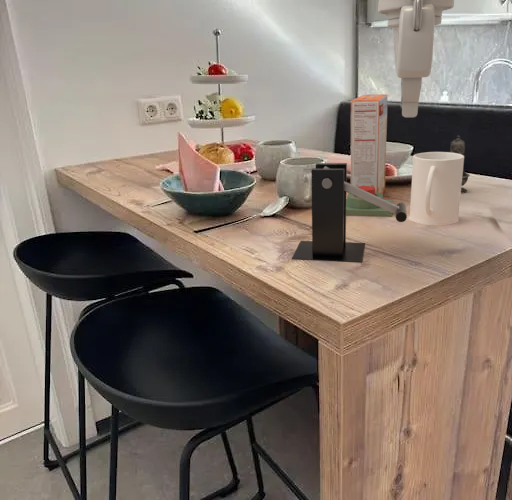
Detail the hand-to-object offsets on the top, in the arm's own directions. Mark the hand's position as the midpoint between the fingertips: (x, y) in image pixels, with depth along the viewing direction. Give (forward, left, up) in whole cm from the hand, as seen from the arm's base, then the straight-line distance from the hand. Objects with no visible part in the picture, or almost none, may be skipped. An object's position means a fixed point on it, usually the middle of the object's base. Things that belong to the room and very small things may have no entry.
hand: (408, 113), depth 65 cm
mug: (-5, -17, -21) cm, 28 cm away
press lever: (+6, 0, -12) cm, 13 cm away
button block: (+6, -23, -21) cm, 32 cm away
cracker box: (+6, -36, -21) cm, 42 cm away
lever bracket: (+10, 0, -21) cm, 23 cm away
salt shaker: (-12, -44, -21) cm, 50 cm away
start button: (+6, -23, -17) cm, 29 cm away
